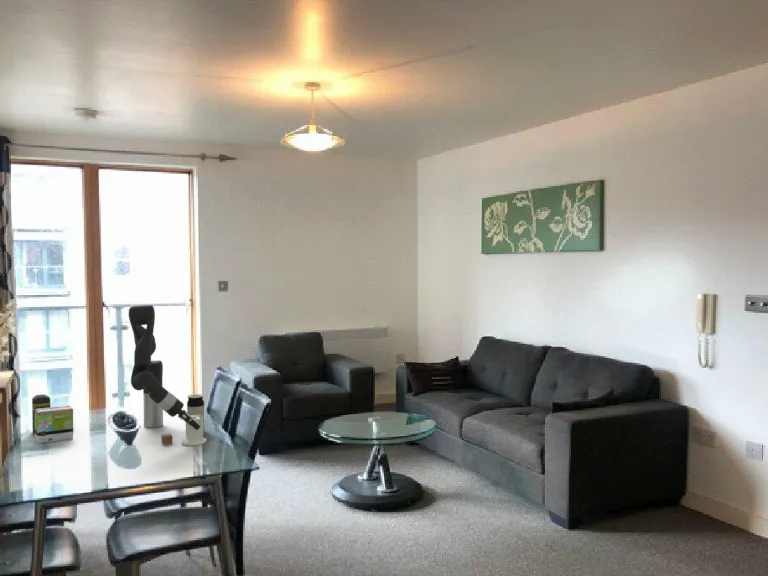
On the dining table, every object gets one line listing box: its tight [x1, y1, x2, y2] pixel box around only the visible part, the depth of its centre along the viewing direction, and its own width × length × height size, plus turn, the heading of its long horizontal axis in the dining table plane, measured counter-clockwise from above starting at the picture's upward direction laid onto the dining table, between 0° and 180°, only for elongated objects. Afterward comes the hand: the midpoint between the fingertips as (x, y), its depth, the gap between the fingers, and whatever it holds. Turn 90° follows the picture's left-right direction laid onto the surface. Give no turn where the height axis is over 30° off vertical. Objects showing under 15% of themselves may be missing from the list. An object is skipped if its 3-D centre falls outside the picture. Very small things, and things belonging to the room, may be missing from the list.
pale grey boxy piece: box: [185, 416, 202, 443], centre depth 298 cm, size 6×6×10 cm
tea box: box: [34, 404, 74, 444], centre depth 306 cm, size 15×10×15 cm, turn 126°
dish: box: [180, 437, 207, 447], centre depth 298 cm, size 11×11×1 cm
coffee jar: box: [31, 394, 52, 435], centre depth 319 cm, size 10×8×19 cm
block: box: [161, 433, 173, 446], centre depth 297 cm, size 4×4×4 cm
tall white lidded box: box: [190, 414, 205, 438], centre depth 309 cm, size 6×6×10 cm
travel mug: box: [186, 393, 206, 432], centre depth 317 cm, size 8×8×18 cm
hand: (196, 426), depth 299 cm, fingers open, 8 cm apart
